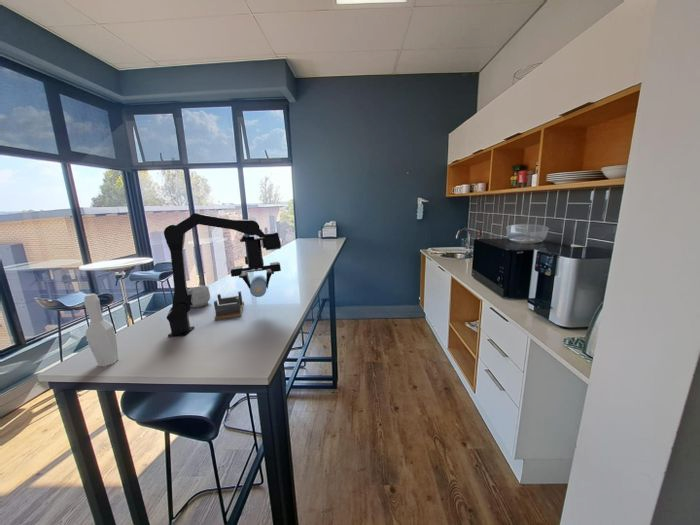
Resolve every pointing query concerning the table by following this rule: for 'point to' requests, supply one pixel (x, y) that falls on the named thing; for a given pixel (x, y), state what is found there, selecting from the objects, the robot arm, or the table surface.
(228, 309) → the holder
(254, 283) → the roll
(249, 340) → the table surface
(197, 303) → the teacup
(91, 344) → the low poly bottle
